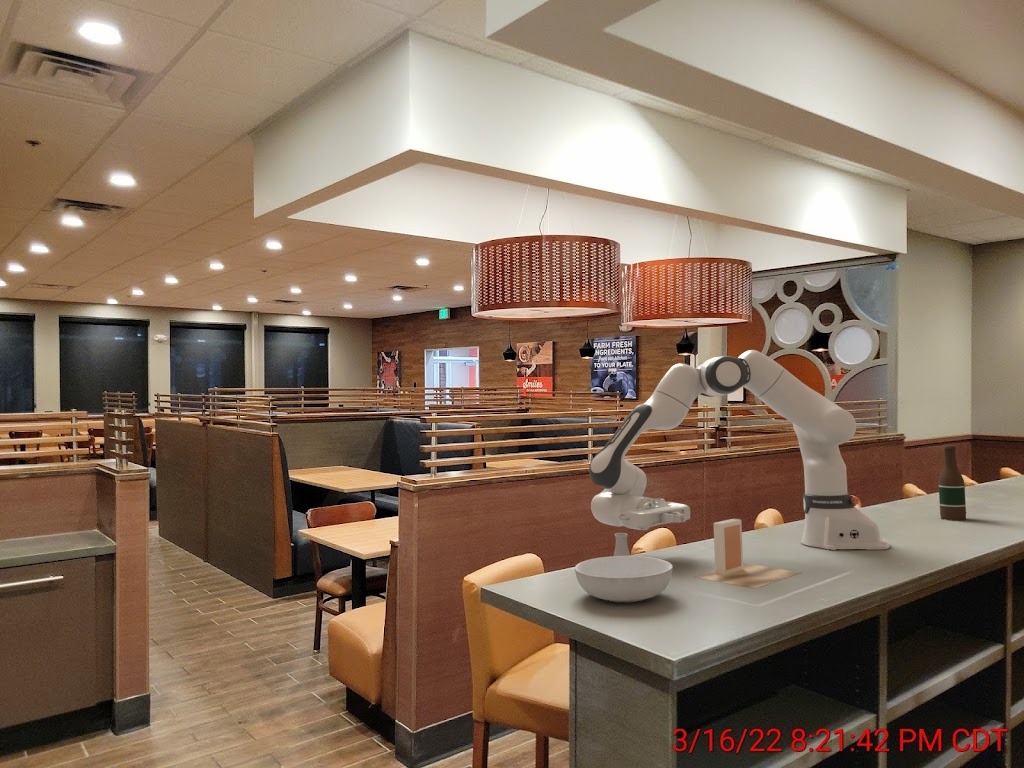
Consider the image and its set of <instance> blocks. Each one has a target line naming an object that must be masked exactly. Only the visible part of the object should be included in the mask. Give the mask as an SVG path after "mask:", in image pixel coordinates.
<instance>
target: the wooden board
mask: <svg viewBox="0 0 1024 768" xmlns="http://www.w3.org/2000/svg"><path fill="white" fill-rule="evenodd" d="M799 574H802V572H801V571H800V572H799V571H794V570H788V569H782V568H776V567H770V566H764V565H757V564H753V563H746V562H745V563H744V562H743V570H740V571H736V572H733V573H730V574H726V575H721V574H715V570H712V571H709V572H706V573H703V574H699V575H696V576H694V578H697V579H703V580H707V581H712V582H713V581H714V582H718V583H724V584H729V585H734V586H738V587H739V586H740V587H743V588H750V589H757V588H760V587H761V588H762V587H763V586H767V585H771V584H773V583H775V582H779V581H782V580H785V579H788V578H791V577H794V576H797V575H799Z"/></svg>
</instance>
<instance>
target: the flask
mask: <svg viewBox="0 0 1024 768" xmlns="http://www.w3.org/2000/svg"><path fill="white" fill-rule="evenodd" d="M628 536H629V534H628V533H627V532H617V533H614V537H615V547H614V552H613V556H632V555H631V554H630V550H629V546H628V545H629V544H628V539H627V538H628Z"/></svg>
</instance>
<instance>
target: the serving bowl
mask: <svg viewBox="0 0 1024 768" xmlns="http://www.w3.org/2000/svg"><path fill="white" fill-rule="evenodd" d="M673 569H674V568H673V564H672V563H671V562H670V561H667V560H664V559H661V558H657V557H651V556H650V557H649V556H639V555H631V556H611V555H610V556H603V557H596V558H590V559H587V560H584V561H580V562H579V563H577V564H576V565H575V566H574V573H575V577H576V580H577V583H578V584H579V586H580V587H581V588H582V589H583V590H584V591H585V592H586V593H587V594H588V595H591V596H592V597H595V598H597V599H601V600H605V601H608V600H609V602H612V601H613V602H612V603H619V602H625V603H624V604H627V603H629V602H630V603H636V602H641V601H644V600H648V599H651V598H653V597H655V596H657V595H659V594H661V593H662V592H663V591H665V590H666V589H667V587H668V586H669V584H670V582H671V579H672V576H673Z"/></svg>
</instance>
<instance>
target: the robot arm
mask: <svg viewBox="0 0 1024 768" xmlns="http://www.w3.org/2000/svg"><path fill="white" fill-rule="evenodd" d="M741 388H744V389H746V390H748V391H749V392H750V393H752V395H754V396H755V397H756V398H757V399H758V400H760V401H761V402H763V404H765V405H766V406H767V407H768V408H769V409H771V410H772V411H773V412H774V413H776V414H777V415H779V416H780V417H782V418H784V419H785V420H787V421H789V422H791V423H792V427H793V430H794V433H795V434H796V438H797V441H798V445H799V450H800V454H801V458H802V464H803V473H804V474H803V475H804V492H803V498H802V499H803V512H804V514H805V516H804V526H803V527H804V528H803V533H802V537H801V540H800V543H801V544H802V545H806V546H809V547H815V548H820V549H826V550H829V549H831V550H830V551H837V550H836V549H866V550H887V549H889V548H890V546H891V545H890V542H889V541H888V540H887V539H885V538H882V537H881V533H880V529H879V526H878V524H877V523H876V522H875V520H873V519H872V518H871V517H869V516H868V515H866V513H864V512H862V511H861V510H860V509H858V508H857V507H856V506H857V505H859V503H860V499H859V497H857V496H853V495H851V494H850V493H848V478H847V477H848V476H847V475H848V474H847V465H846V463H845V461H844V459H843V457H842V454H841V451H840V448H839V447H840V446H839V445H842V444H845V443H847V442H850V440H852V438H853V437H855V433H856V431H857V422H856V419H855V417H854V416H853V414H852V413H851V412H849V411H848V410H846V409H845V408H842V407H841V406H839V405H837V404H836V403H835V402H833V401H832V400H830V399H828V398H827V397H825V396H824V395H822V394H821V393H819V392H818V391H816V390H814V389H813V388H811V387H809V386H808V385H807V384H805V383H804V382H802V381H801V380H800V379H798V378H797V377H796V376H795V375H793V374H792V373H791V372H789V370H787V369H786V368H785V367H783V366H782V365H781V364H779V362H776V361H775V360H774V359H772V358H771V357H770V356H767V355H766V354H764V353H762V352H760V350H759V351H758V350H755V349H749V350H746V351H744V352H743V353H741V354H740V355H739V356H738V357H735V356H733V355H732V356H731V355H720V356H715V357H711V358H709V359H706V360H705V361H704V362H701V363H700V364H698V365H696V366H694V367H693V366H691V365H689V364H687V363H676V364H674V365H672V366H671V367H670V368H669V369H668V371H667V372H666V373H665V374H664V375H663V376H662V378H661V380H660V381H659V382H658V384H657V386H656V387H655V389H654V391H653V393H652V394H651V395H650V396H649V398H648V399H647V400H646V401H645V402H644V403H641V404H639V405H638V404H637V405H636V406H635V407H634V408H633V409H632V410H631V411H630V412H629V414H628V415H627V416H626V418H624V420H623V422H622V423H620V425H619V427H618V428H617V430H616V431H615V432H614V434H613V435H612V436H611V438H610V439H609V440H608V441H607V443H606V444H605V445H604V446H603V448H601V449H600V450H599V451H598V452H597V453H596V454H595V455H594V456H593V458H592V459H591V461H590V464H589V470H588V471H589V478H590V480H591V482H592V484H594V485H596V486H599V487H601V488H602V489H603V490H602V491H601V492H599V493H598V494H596V495H594V496H593V498H592V500H591V501H590V510H591V513H592V516H593V517H594V518H595V519H596V520H597V521H598V522H600V523H601V524H604V525H609V526H612V527H613V526H614V527H620V528H621V527H626V528H627V529H633V530H639V531H647V530H649V529H651V528H652V527H655V526H660V525H664V524H665V525H666V524H671V523H682V522H683V523H684V522H686V521H687V520H690V519H691V507H690V506H689V505H687V504H683V503H678V502H674V501H673V502H672V501H666V499H664V498H658V497H657V498H651V497H648V496H644V495H645V493H646V491H647V487H648V476H647V474H646V473H645V471H644V470H642V469H641V468H640V467H638V466H636V465H635V464H633V463H631V462H629V461H628V460H626V458H625V456H626V454H627V453H628V452H629V450H630V449H631V447H632V446H633V444H634V443H635V441H636V440H638V437H639V436H640V435H641V434H642V433H644V432H646V431H649V430H658V431H668V430H669V431H670V430H672V429H676V428H677V427H679V425H681V423H683V421H684V419H685V418H686V417H687V414H688V413H689V411H690V409H691V407H692V406H693V404H694V401H695V400H696V399H697V398H698V396H704V397H711V398H712V397H713V398H714V397H715V398H718V397H719V398H720V397H724V396H727V395H729V394H732V393H734V392H737V391H738V390H739V389H741Z"/></svg>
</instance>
